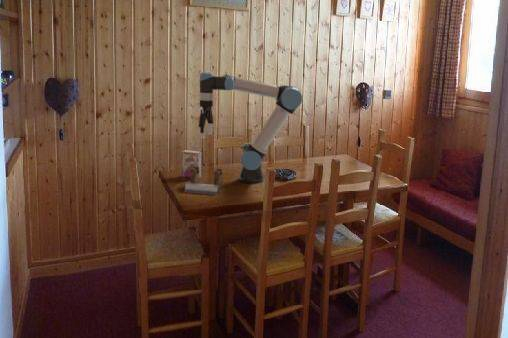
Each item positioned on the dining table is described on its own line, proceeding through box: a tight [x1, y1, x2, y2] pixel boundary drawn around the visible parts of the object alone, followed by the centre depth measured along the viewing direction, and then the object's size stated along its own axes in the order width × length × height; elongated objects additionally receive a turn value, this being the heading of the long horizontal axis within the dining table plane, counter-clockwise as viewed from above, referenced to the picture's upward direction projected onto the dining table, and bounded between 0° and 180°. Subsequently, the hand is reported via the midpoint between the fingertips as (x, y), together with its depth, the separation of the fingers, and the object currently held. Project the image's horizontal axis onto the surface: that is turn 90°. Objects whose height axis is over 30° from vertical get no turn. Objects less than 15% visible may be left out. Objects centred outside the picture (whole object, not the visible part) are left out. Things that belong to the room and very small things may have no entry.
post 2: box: [213, 167, 223, 189], centre depth 293 cm, size 3×7×11 cm, turn 168°
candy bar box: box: [181, 149, 202, 179], centre depth 313 cm, size 11×5×16 cm, turn 70°
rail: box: [183, 182, 221, 194], centre depth 285 cm, size 20×4×4 cm, turn 78°
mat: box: [183, 190, 219, 196], centre depth 285 cm, size 19×8×1 cm, turn 78°
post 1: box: [190, 166, 200, 184], centre depth 296 cm, size 3×7×11 cm, turn 168°
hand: (206, 136), depth 294 cm, fingers open, 13 cm apart
